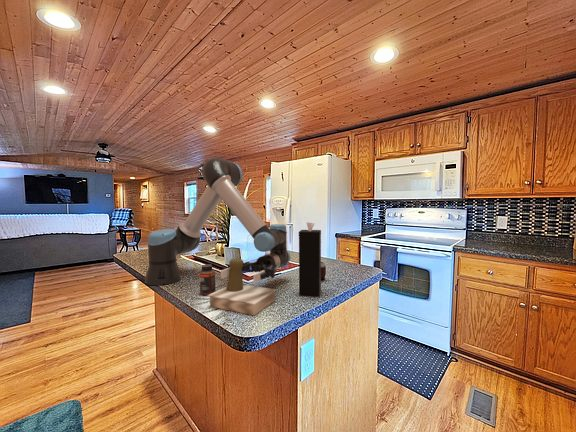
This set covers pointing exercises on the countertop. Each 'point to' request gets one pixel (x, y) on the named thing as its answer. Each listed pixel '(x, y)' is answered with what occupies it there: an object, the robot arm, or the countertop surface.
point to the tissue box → (310, 261)
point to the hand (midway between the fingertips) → (237, 276)
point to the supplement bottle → (207, 280)
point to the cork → (235, 275)
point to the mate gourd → (323, 271)
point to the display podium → (243, 299)
